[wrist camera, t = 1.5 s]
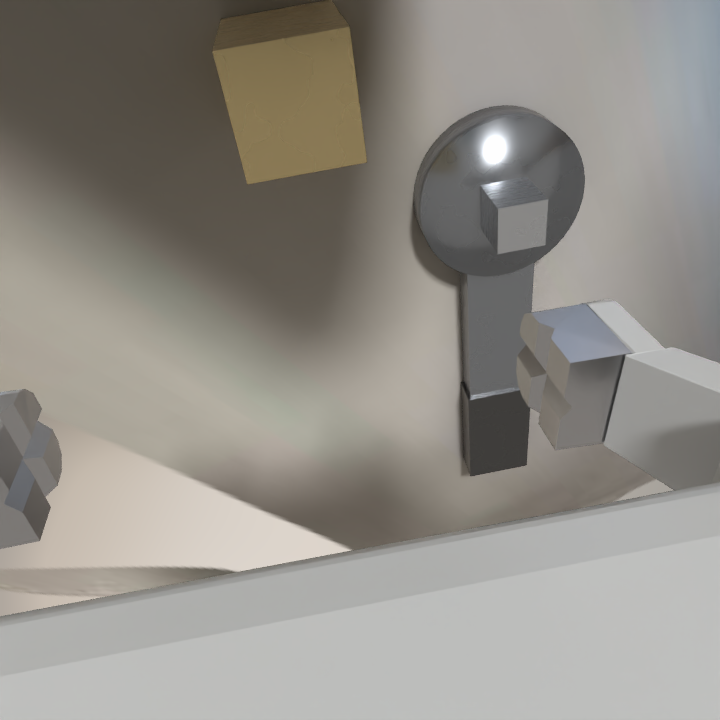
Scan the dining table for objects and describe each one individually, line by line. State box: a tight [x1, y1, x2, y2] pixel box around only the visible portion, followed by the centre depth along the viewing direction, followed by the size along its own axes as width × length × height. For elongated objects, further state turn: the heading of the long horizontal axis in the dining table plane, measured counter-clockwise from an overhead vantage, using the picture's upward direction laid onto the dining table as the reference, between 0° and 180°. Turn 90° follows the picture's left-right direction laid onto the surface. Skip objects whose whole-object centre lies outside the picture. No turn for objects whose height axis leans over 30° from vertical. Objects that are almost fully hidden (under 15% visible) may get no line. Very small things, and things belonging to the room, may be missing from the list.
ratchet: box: [414, 105, 585, 476], centre depth 37 cm, size 26×9×5 cm, turn 8°
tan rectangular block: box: [212, 0, 367, 184], centre depth 26 cm, size 5×5×7 cm
